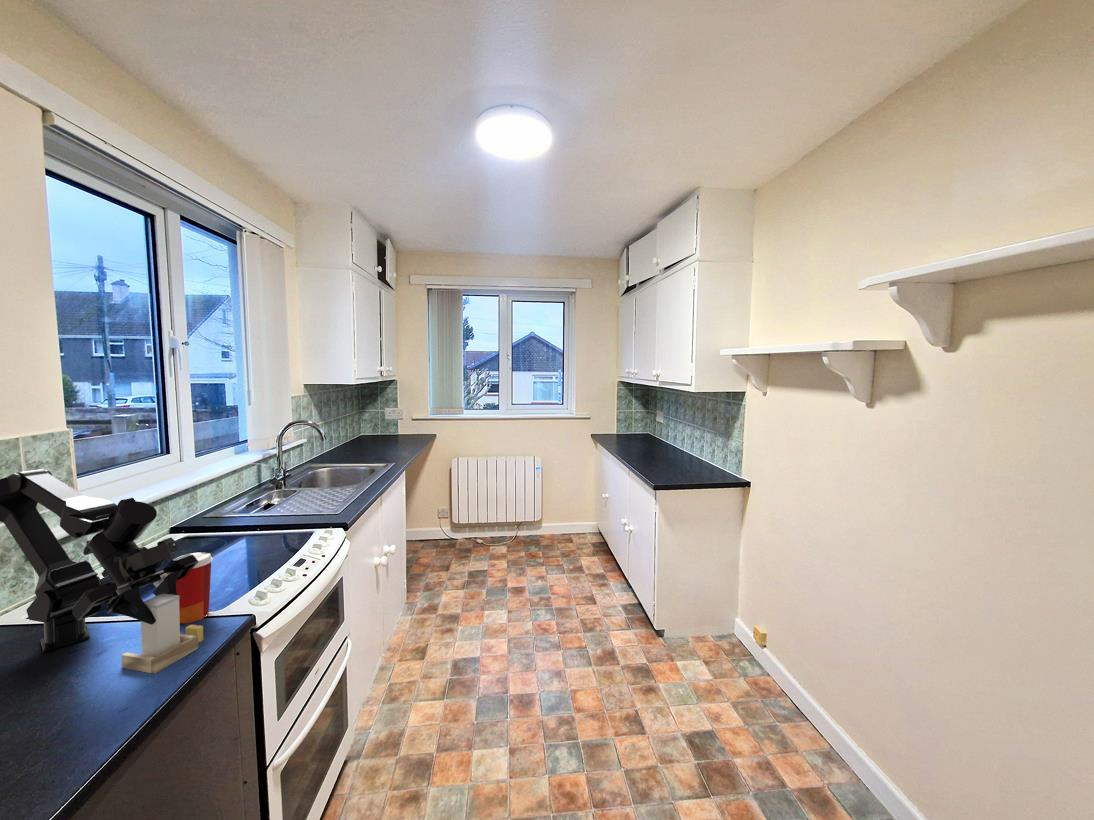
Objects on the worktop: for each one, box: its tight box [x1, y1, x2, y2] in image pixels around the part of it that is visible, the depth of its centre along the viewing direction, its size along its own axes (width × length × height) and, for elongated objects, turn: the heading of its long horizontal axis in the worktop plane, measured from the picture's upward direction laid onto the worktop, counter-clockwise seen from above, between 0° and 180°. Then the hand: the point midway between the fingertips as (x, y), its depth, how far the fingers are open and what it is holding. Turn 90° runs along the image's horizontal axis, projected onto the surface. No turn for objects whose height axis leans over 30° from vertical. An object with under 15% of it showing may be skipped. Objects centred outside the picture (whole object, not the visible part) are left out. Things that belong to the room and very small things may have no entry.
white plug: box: [140, 593, 181, 657], centre depth 84 cm, size 4×4×10 cm
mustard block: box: [185, 623, 204, 644], centre depth 90 cm, size 3×1×3 cm, turn 78°
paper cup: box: [176, 551, 214, 625], centre depth 99 cm, size 8×8×14 cm
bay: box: [121, 633, 199, 674], centre depth 84 cm, size 8×8×2 cm
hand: (165, 617), depth 84 cm, fingers closed on white plug, 4 cm apart
